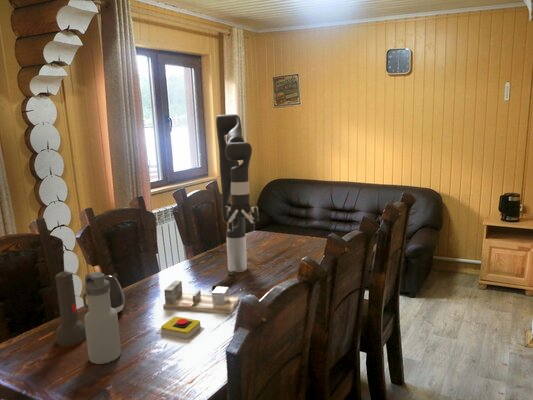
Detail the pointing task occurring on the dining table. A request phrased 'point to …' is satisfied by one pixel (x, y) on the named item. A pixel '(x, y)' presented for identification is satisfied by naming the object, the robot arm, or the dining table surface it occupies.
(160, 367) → the dining table surface
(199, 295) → the drag pointer
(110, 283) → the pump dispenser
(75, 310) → the flashlight
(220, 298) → the light grey cube
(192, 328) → the emergency button
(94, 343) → the water bottle
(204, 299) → the base
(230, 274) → the hand tool
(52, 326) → the dining table surface
